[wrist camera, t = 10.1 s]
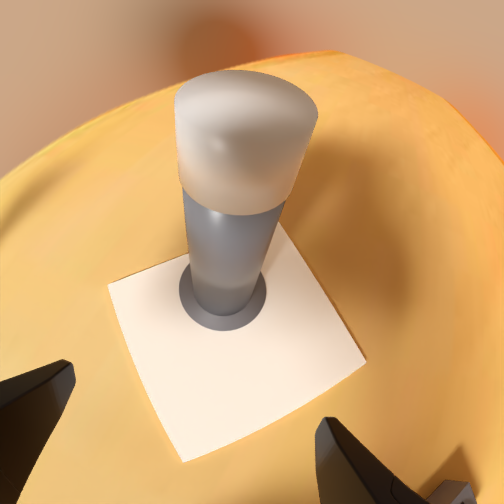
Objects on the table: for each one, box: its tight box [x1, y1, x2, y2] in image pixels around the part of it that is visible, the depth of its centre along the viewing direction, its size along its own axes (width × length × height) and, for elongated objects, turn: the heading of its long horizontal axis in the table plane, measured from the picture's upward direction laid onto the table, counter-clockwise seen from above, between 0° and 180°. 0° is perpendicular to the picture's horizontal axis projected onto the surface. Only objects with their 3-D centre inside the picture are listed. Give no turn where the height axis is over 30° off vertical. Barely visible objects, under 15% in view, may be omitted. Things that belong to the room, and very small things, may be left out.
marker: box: [174, 70, 318, 316], centre depth 14 cm, size 4×4×14 cm
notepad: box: [108, 221, 367, 463], centre depth 18 cm, size 14×13×1 cm
